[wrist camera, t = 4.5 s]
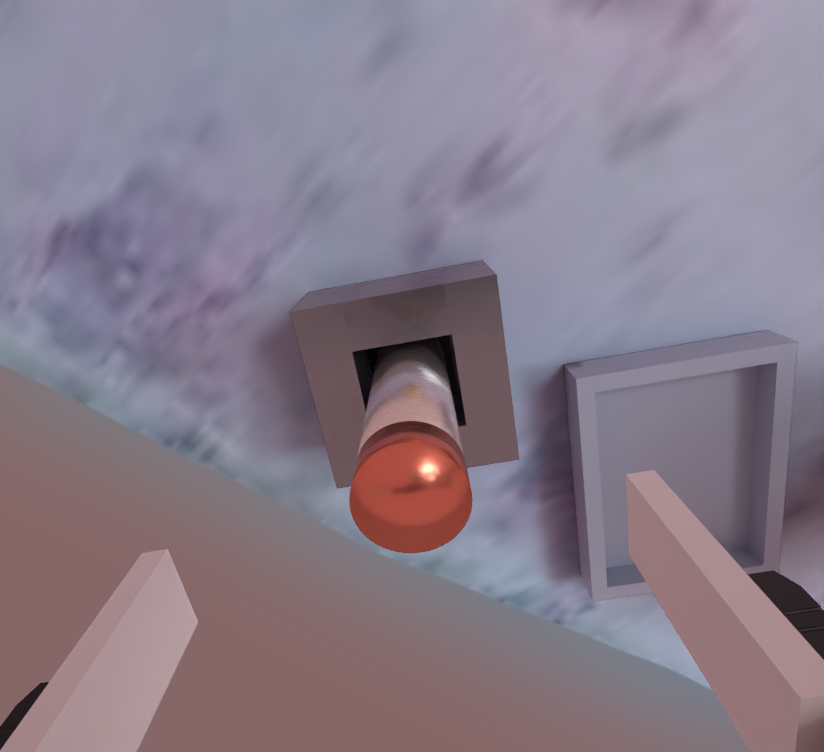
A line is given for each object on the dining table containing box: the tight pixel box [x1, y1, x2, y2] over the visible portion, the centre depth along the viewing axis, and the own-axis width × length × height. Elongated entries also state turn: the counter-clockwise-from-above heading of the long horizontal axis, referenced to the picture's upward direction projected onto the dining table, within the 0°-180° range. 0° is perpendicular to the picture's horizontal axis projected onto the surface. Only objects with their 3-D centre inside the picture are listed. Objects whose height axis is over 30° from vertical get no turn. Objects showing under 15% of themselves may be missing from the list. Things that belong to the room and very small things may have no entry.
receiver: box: [290, 260, 519, 488], centre depth 28 cm, size 10×10×5 cm
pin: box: [350, 337, 472, 553], centre depth 24 cm, size 4×4×15 cm
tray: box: [564, 330, 797, 601], centre depth 32 cm, size 16×12×2 cm
